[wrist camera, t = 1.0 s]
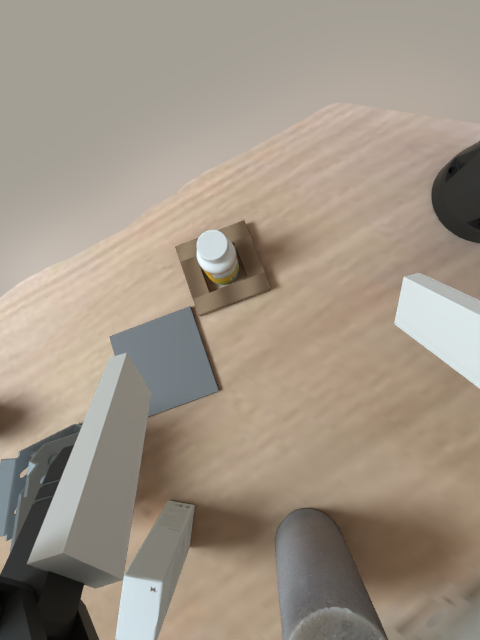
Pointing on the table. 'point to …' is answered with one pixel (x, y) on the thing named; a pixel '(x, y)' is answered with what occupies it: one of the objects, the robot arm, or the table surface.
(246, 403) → the table surface
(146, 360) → the mat
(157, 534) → the skincare box
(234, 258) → the supplement bottle
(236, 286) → the socket block
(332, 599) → the pillar candle
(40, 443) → the bracket
